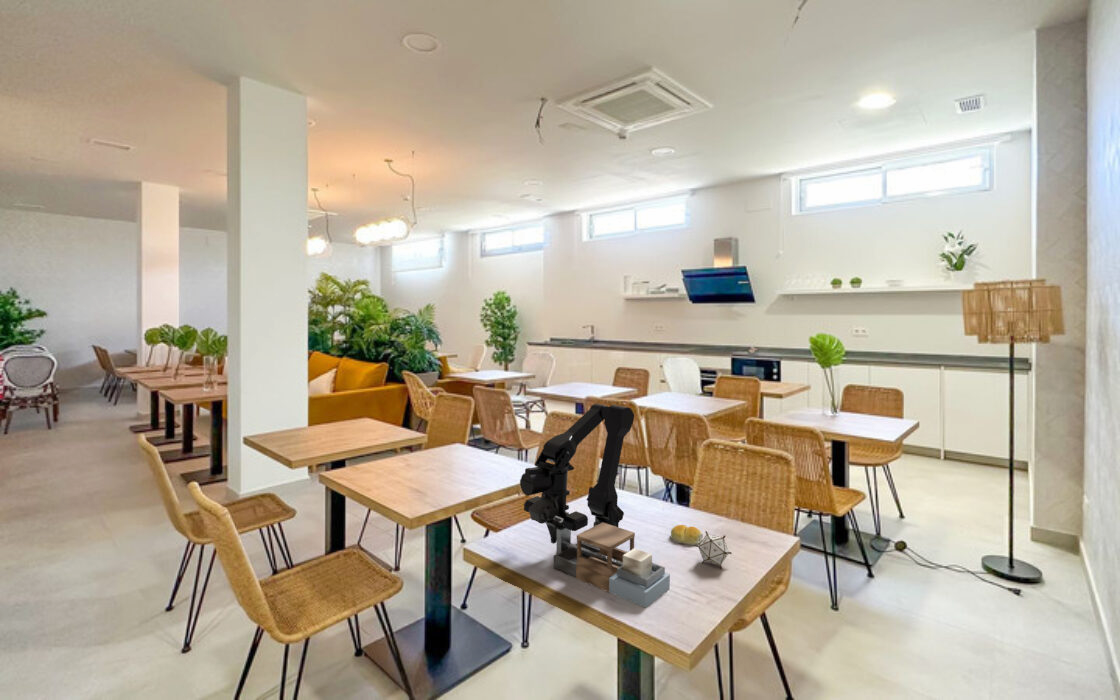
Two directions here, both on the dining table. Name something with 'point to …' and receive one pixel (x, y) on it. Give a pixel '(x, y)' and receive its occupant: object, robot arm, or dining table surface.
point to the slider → (565, 543)
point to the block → (638, 563)
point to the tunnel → (589, 566)
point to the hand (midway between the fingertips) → (553, 542)
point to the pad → (639, 589)
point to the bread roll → (686, 535)
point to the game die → (713, 549)
